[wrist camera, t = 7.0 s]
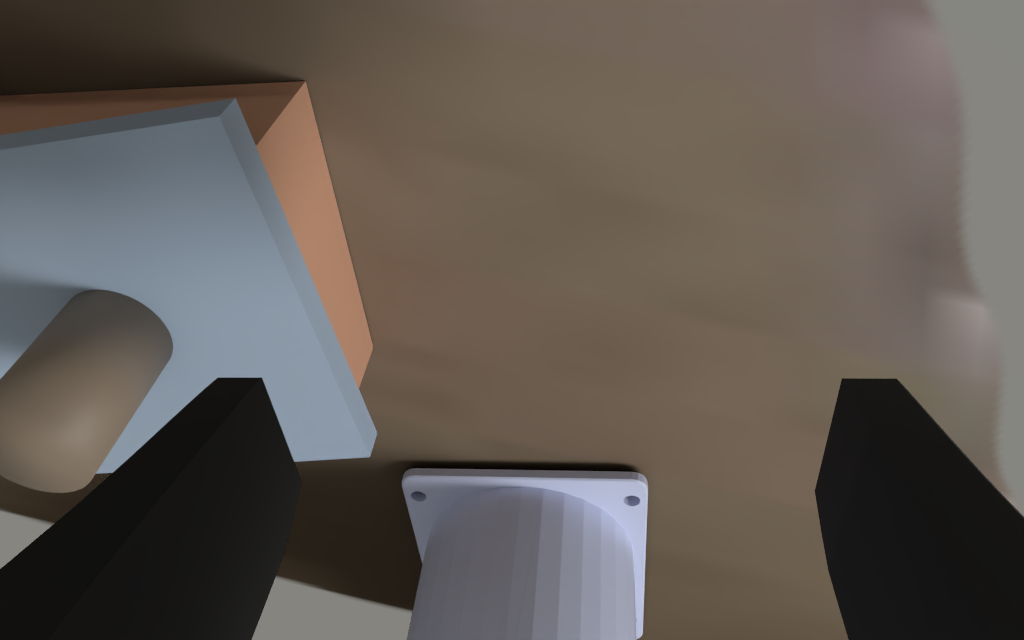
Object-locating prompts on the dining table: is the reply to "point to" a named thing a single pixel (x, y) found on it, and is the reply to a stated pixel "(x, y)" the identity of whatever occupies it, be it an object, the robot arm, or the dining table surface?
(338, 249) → the orange open box
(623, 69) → the dining table surface
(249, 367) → the lid
